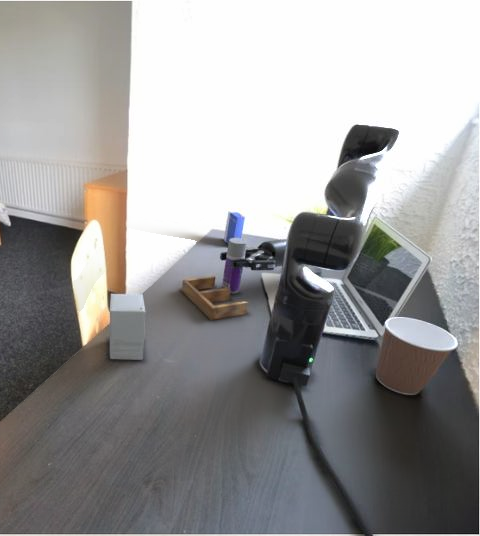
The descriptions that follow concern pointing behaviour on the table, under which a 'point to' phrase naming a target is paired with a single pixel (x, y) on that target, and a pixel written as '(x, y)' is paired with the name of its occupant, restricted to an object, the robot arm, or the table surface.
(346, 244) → the robot arm
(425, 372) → the coffee cup
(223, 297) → the caddy
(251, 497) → the table surface
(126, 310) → the white packaging box
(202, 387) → the table surface
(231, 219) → the walkman
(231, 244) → the container
